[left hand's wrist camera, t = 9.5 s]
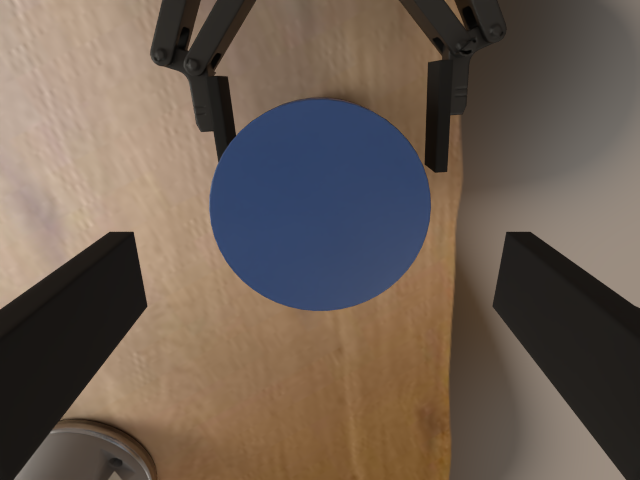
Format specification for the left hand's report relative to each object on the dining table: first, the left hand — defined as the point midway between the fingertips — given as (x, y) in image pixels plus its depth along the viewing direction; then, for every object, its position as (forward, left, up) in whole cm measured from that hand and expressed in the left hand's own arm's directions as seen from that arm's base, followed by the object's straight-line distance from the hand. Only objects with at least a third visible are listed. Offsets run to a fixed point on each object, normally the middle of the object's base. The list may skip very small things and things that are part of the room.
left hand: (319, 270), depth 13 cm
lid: (0, 0, -6) cm, 6 cm away
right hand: (0, -1, -15) cm, 15 cm away
